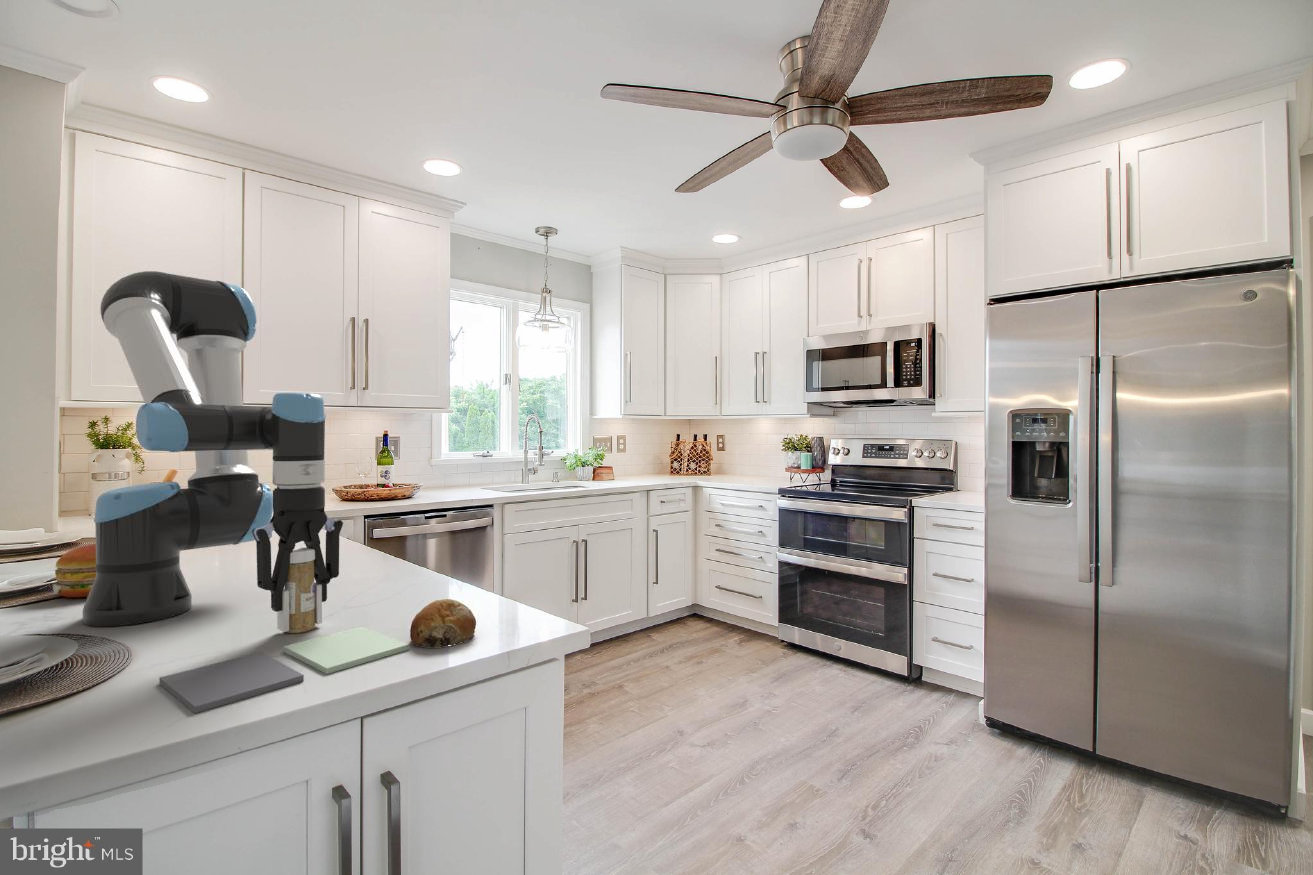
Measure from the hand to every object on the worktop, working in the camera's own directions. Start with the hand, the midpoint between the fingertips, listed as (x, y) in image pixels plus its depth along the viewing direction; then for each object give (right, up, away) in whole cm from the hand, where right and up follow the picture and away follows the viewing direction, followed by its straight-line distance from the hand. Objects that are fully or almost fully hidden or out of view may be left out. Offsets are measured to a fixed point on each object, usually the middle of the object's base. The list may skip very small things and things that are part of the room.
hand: (299, 625), depth 104 cm
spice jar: (0, -1, 0) cm, 1 cm away
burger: (-55, -1, +24) cm, 60 cm away
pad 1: (+3, -1, -22) cm, 22 cm away
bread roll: (+25, -1, -4) cm, 26 cm away
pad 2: (+13, -1, -10) cm, 16 cm away
